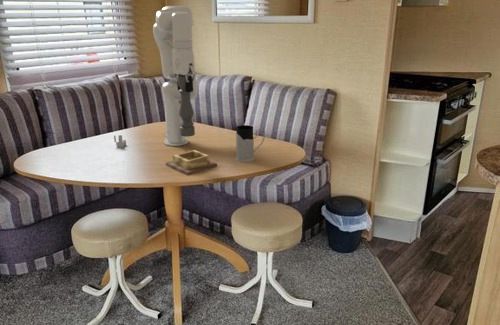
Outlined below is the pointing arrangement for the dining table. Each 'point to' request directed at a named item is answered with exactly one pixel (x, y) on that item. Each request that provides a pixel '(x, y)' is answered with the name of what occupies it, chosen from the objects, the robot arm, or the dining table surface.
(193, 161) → the socket base
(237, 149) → the grey and black mug
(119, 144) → the architectural model
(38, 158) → the dining table surface
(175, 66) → the robot arm
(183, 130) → the candle holder
